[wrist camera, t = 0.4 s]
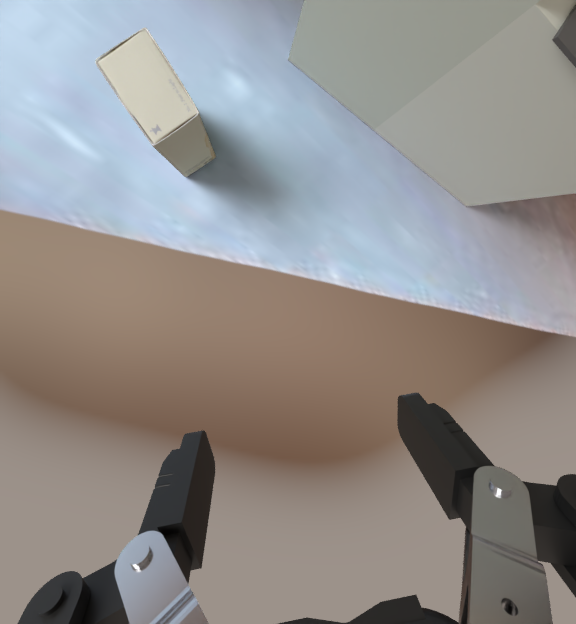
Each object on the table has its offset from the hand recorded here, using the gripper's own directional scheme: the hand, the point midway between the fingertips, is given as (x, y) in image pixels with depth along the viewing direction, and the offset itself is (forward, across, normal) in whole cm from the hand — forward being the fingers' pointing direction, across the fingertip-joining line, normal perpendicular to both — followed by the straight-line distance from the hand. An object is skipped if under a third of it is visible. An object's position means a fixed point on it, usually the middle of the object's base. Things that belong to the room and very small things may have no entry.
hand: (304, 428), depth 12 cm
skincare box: (+29, +7, -15) cm, 33 cm away
